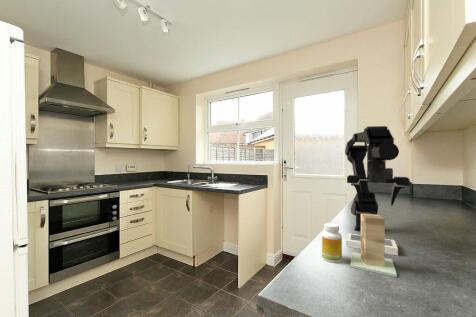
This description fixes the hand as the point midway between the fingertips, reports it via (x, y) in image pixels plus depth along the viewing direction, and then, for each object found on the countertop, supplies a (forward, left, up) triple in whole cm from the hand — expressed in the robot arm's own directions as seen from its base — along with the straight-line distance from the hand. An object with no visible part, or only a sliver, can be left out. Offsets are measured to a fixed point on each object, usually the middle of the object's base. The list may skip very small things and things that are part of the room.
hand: (376, 204), depth 80 cm
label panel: (+7, -2, -13) cm, 15 cm away
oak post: (+23, -2, -12) cm, 26 cm away
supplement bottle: (+25, -12, -13) cm, 31 cm away
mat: (+23, -2, -13) cm, 26 cm away
